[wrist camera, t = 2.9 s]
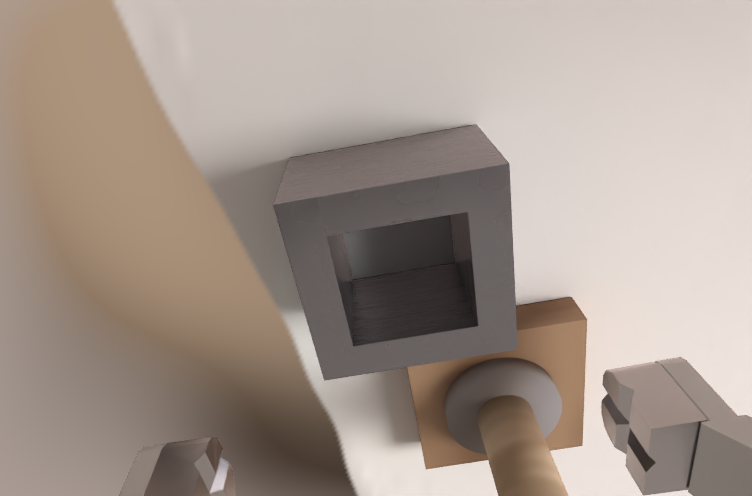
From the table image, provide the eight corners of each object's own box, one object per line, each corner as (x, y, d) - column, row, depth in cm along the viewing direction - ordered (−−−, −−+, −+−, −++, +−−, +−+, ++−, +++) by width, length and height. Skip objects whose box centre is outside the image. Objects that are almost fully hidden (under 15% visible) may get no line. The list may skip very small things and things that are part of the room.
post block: (571, 297, 20) (677, 450, 14) (569, 419, 24) (653, 590, 17) (400, 325, 21) (423, 488, 14) (421, 442, 24) (448, 618, 17)
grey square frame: (476, 124, 17) (509, 163, 13) (488, 283, 20) (517, 349, 16) (289, 157, 17) (273, 204, 14) (328, 310, 20) (324, 380, 17)
